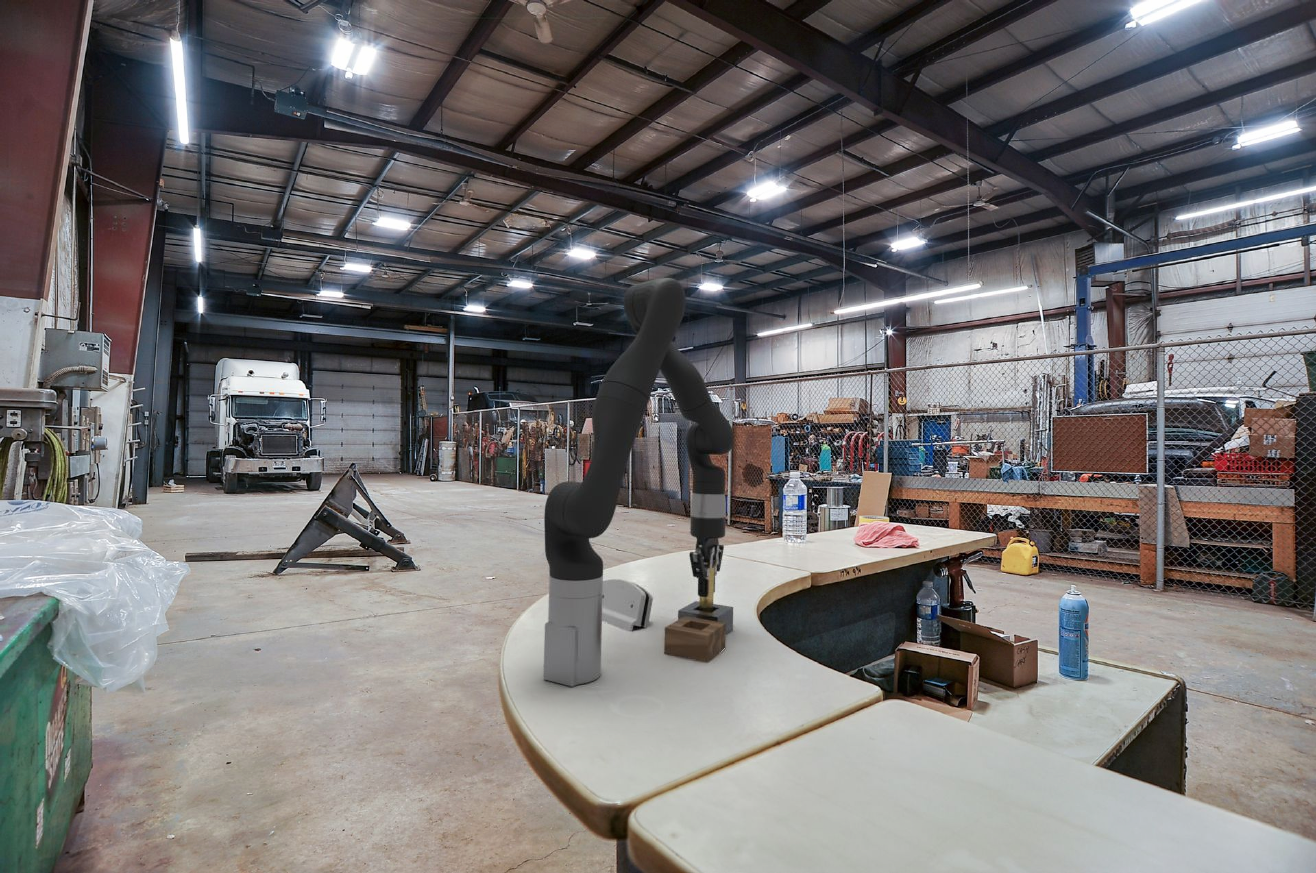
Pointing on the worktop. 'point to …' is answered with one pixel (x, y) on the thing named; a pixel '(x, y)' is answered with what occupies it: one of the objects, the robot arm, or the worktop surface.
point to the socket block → (709, 614)
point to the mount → (695, 638)
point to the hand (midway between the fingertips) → (706, 594)
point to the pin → (707, 602)
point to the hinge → (625, 604)
